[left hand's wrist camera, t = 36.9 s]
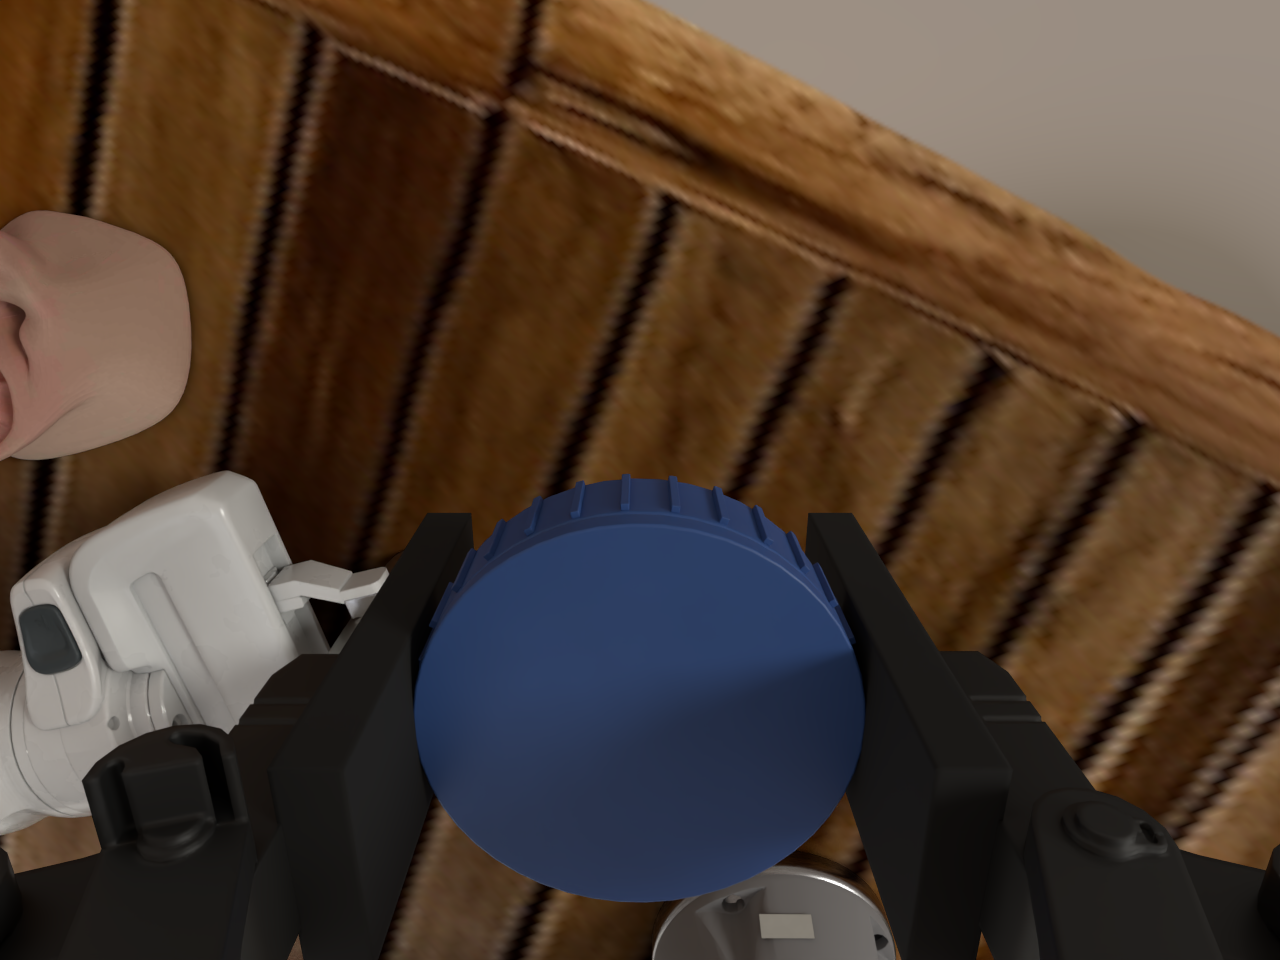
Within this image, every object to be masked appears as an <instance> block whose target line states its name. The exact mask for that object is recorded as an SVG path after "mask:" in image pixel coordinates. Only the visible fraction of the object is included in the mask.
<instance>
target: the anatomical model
mask: <svg viewBox="0 0 1280 960" xmlns="http://www.w3.org/2000/svg"><path fill="white" fill-rule="evenodd" d="M190 361H191V322H190V311H189V302H188V297H187V291H186V286H185V282H184V278H183V275H182V273H181V271H180V268H179V266H178V264H177V263H176V261H175V259H174V258H173V257H172V255H171V254H170V253H169V252H168V251H167V250H166V249H164V248H163V247H162V246H160V245H159V244H157V243H155V242H154V241H152V240H150V239H148V238H145V237H143V236H141V235H139V234H136V233H134V232H131V231H128V230H125V229H122V228H119V227H116V226H113V225H111V224H108V223H105V222H102V221H98V220H95V219H91V218H88V217H83V216H78V215H72V214H66V213H60V212H54V211H32V212H28V213H25V214H23V215H21V216H19V217H17V218H15V219H14V220H12V221H11V222H10V223H8V224H7V225H6V226H5V227H4V228H2V229H1V230H0V461H1V460H4V459H6V458H8V457H10V456H12V457H15V458H19V459H26V460H41V459H50V458H56V457H61V456H66V455H71V454H75V453H79V452H83V451H87V450H90V449H93V448H97V447H100V446H104V445H107V444H110V443H113V442H115V441H118V440H121V439H124V438H127V437H129V436H132V435H134V434H137V433H139V432H141V431H143V430H145V429H147V428H149V427H151V426H153V425H154V424H156V423H158V422H159V421H161V420H162V419H164V418H165V417H166V416H167V415H168V414H169V413H170V412H172V411H173V409H174V408H175V407H176V405H177V404H178V403H179V401H180V399H181V397H182V395H183V393H184V390H185V387H186V383H187V379H188V374H189V369H190Z"/></svg>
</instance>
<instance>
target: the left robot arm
mask: <svg viewBox="0 0 1280 960" xmlns="http://www.w3.org/2000/svg"><path fill="white" fill-rule="evenodd" d="M471 548H473V549H474V544H473V531H472V519H471V513H427V515H426V516H425V518H424V519H423V521H422V523H421V524H420V526H419V527H418V529H417V531H416V532H415V534H414V535H413V537H412V539H411V540H410V542H409V543H408V545H407V547H406V548H405V550H404V551H403V553H402V554H401V556H400V558H399V559H398V561H397V562H396V564H395V566H394V567H393V569H392V570H391V572H390V574H389V575H388V577H387V578H386V580H385V582H384V583H383V585H382V586H381V588H380V590H379V591H378V593H377V594H376V596H375V598H374V599H373V601H372V602H371V604H370V605H369V607H368V609H367V610H366V612H365V613H364V615H363V617H362V618H361V620H360V621H359V623H358V625H357V626H356V628H355V629H354V631H353V633H352V634H351V636H350V637H349V639H348V641H347V642H346V644H345V645H344V647H343V648H342V650H341V652H340V653H339V654H301V655H300V656H298V657H297V658H295V659H294V660H292V661H291V662H290V663H288V664H287V665H285V666H284V667H282V668H281V669H279V670H278V671H277V672H275V673H274V674H272V675H271V677H270V678H269V679H268V681H267V682H266V683H265V685H264V686H263V687H262V689H261V690H260V692H259V693H258V694H257V696H256V697H255V698H254V703H253V704H250V705H249V707H248V708H247V709H246V711H245V712H244V713H243V715H242V716H241V717H240V719H239V724H238V725H235V726H234V727H233V728H232V730H231V731H230V732H229V734H227V733H226V732H225V731H223V730H222V729H221V728H217V727H212V726H208V725H203V724H190V725H174V726H171V727H167V728H163V729H159V730H156V731H152V732H148V733H145V734H143V735H141V736H138V737H136V738H134V739H132V740H130V741H128V742H126V743H123V744H121V745H119V746H117V747H116V748H115V749H113V750H112V751H111V752H109V753H108V754H106V755H105V756H104V757H102V758H101V759H100V760H98V761H97V762H96V763H95V764H94V765H93V766H92V768H91V769H90V770H89V772H88V773H87V774H86V776H85V777H84V778H83V779H82V784H83V787H84V791H85V794H86V797H87V801H88V804H89V808H90V811H91V814H92V818H93V821H94V825H95V828H96V831H97V835H98V838H99V842H100V845H101V848H102V849H101V852H100V853H98V854H95V855H91V856H88V857H85V858H81V859H77V860H73V861H68V862H64V863H60V864H55V865H51V866H47V867H42V868H38V869H34V870H29V871H25V872H21V873H16V874H14V871H13V868H12V865H11V863H10V860H9V857H8V854H7V852H6V851H4V850H3V849H2V848H0V960H287V958H288V956H289V954H290V952H291V950H292V947H293V945H294V943H295V941H296V938H297V936H298V934H299V939H300V944H301V949H302V954H303V959H304V960H378V958H379V955H380V952H381V949H382V946H383V943H384V940H385V937H386V934H387V931H388V928H389V925H390V922H391V919H392V916H393V913H394V910H395V907H396V904H397V901H398V898H399V895H400V892H401V889H402V886H403V883H404V880H405V877H406V874H407V871H408V868H409V865H410V862H411V859H412V856H413V853H414V850H415V847H416V844H417V841H418V838H419V835H420V832H421V829H422V826H423V823H424V820H425V817H426V814H427V811H428V808H429V805H430V802H431V799H432V796H433V793H434V791H433V790H432V788H431V786H430V784H429V782H428V779H427V777H426V774H425V772H424V769H423V767H422V764H421V762H420V758H419V753H418V746H417V739H416V730H415V721H414V711H413V700H414V688H415V683H416V679H417V675H418V671H419V657H420V655H421V653H422V651H423V648H424V646H425V644H426V642H427V640H428V637H429V635H430V633H431V631H432V629H433V628H432V627H429V624H430V622H431V620H432V618H433V616H434V614H435V612H436V610H437V607H438V605H439V603H440V601H441V599H442V597H443V595H444V593H445V590H446V588H447V586H448V584H449V582H451V583H454V582H455V580H456V577H457V575H458V573H459V571H460V569H461V566H462V564H463V562H464V560H465V558H466V556H467V553H468V552H469V551H470V549H471ZM805 555H806V557H807V558H808V559H809V561H810V562H811V564H812V565H814V564H815V563H817V562H818V563H819V565H820V566H821V568H822V570H823V573H824V575H825V577H826V579H827V581H828V583H829V586H830V588H831V590H832V592H833V594H834V596H835V598H836V599H837V601H838V603H839V605H840V607H841V610H842V612H843V614H844V616H845V618H846V620H847V623H848V625H849V627H850V629H851V631H852V633H853V635H854V638H855V641H856V644H852V648H853V650H854V653H855V656H856V659H857V662H858V665H859V668H860V671H861V674H862V680H863V686H864V693H865V699H866V710H865V725H864V734H863V742H862V750H861V753H860V756H859V759H858V763H857V766H856V769H855V772H854V775H853V777H852V779H851V781H850V783H849V785H848V787H847V789H846V794H847V797H848V800H849V803H850V806H851V809H852V812H853V815H854V818H855V821H856V824H857V827H858V830H859V833H860V836H861V839H862V842H863V845H864V848H865V851H866V854H867V857H868V860H869V863H870V866H871V869H872V872H873V875H874V878H875V881H876V884H877V887H878V890H879V893H880V896H881V899H882V903H883V906H884V909H885V912H886V915H887V918H888V921H889V924H890V927H891V930H892V933H893V936H894V939H895V942H896V945H897V948H898V951H899V954H900V957H901V960H976V957H977V951H978V946H979V941H980V936H981V931H982V933H983V935H984V938H985V940H986V942H987V944H988V947H989V949H990V951H991V953H992V955H993V958H994V960H1280V844H1279V845H1278V846H1277V847H1275V848H1274V849H1273V852H1272V855H1271V858H1270V860H1269V863H1268V866H1267V869H1266V870H1261V869H1257V868H1253V867H1248V866H1244V865H1240V864H1235V863H1231V862H1227V861H1222V860H1218V859H1214V858H1209V857H1205V856H1201V855H1197V854H1193V853H1190V852H1187V851H1183V850H1180V849H1179V848H1178V846H1177V845H1176V843H1175V842H1174V840H1173V839H1172V837H1171V836H1170V834H1169V833H1168V831H1167V830H1166V828H1164V827H1163V826H1162V825H1161V824H1160V823H1158V822H1157V821H1156V820H1155V819H1154V818H1152V817H1151V816H1150V815H1149V814H1147V813H1146V812H1145V811H1144V810H1142V809H1140V808H1138V807H1136V806H1134V805H1132V804H1130V803H1128V802H1127V801H1125V800H1123V799H1121V798H1119V797H1116V796H1113V795H1110V794H1106V793H1103V792H1099V791H1096V790H1095V789H1094V787H1093V786H1092V785H1091V783H1090V782H1089V781H1088V779H1087V778H1086V777H1085V775H1084V774H1083V773H1082V771H1081V770H1080V769H1079V767H1078V766H1077V764H1076V763H1075V762H1074V760H1073V759H1072V758H1071V756H1070V755H1069V754H1068V752H1067V751H1066V750H1065V748H1064V747H1063V746H1062V744H1061V743H1060V742H1059V740H1058V739H1057V737H1056V736H1055V735H1054V733H1053V732H1052V731H1051V729H1050V728H1049V727H1048V725H1047V724H1046V723H1045V722H1042V721H1041V716H1040V715H1039V713H1038V712H1037V710H1036V709H1035V708H1034V706H1033V705H1032V704H1031V702H1030V701H1026V696H1025V694H1024V693H1023V692H1022V690H1021V689H1020V688H1019V686H1018V685H1017V683H1016V682H1015V681H1014V679H1013V678H1012V677H1011V675H1010V674H1009V673H1008V672H1007V671H1006V670H1004V669H1003V668H1001V667H1000V666H998V665H997V664H996V663H994V662H993V661H991V660H990V659H988V658H987V657H985V656H984V655H983V654H981V653H980V652H978V651H938V649H937V648H936V646H935V645H934V643H933V641H932V640H931V638H930V637H929V635H928V633H927V632H926V630H925V629H924V627H923V625H922V624H921V622H920V621H919V619H918V617H917V616H916V614H915V613H914V611H913V609H912V608H911V606H910V605H909V603H908V602H907V600H906V598H905V597H904V595H903V594H902V592H901V590H900V589H899V587H898V586H897V584H896V582H895V581H894V579H893V578H892V576H891V574H890V573H889V571H888V570H887V568H886V566H885V565H884V563H883V562H882V560H881V558H880V557H879V555H878V554H877V552H876V551H875V549H874V547H873V546H872V544H871V543H870V541H869V539H868V538H867V536H866V535H865V533H864V531H863V530H862V528H861V527H860V525H859V523H858V522H857V520H856V519H855V517H854V515H853V514H852V513H808V525H807V538H806V551H805ZM885 912H884V910H883V907H882V905H881V903H880V901H879V899H878V897H877V896H876V894H875V893H874V892H873V890H872V889H871V888H870V887H869V886H868V885H867V884H866V883H865V882H864V881H863V880H862V879H861V878H860V877H859V876H857V875H856V874H855V873H853V872H852V871H850V870H849V869H847V868H846V867H844V866H842V865H840V864H838V863H836V862H834V861H831V860H829V859H826V858H823V857H820V856H817V855H813V854H809V853H804V852H797V851H794V852H793V853H791V854H790V855H788V856H787V857H785V858H784V859H782V860H781V861H779V862H778V863H777V864H775V865H774V866H772V867H770V868H768V869H767V870H765V871H763V872H761V873H759V874H757V875H755V876H753V877H751V878H750V879H747V880H745V881H742V882H740V883H737V884H735V885H732V886H730V887H727V888H725V889H721V890H718V891H714V892H710V893H707V894H703V895H700V896H695V897H689V898H683V899H678V900H670V901H665V903H664V904H663V906H662V907H661V909H660V911H659V913H658V916H657V918H656V920H655V924H654V928H653V933H652V960H896V950H895V943H894V940H893V936H892V933H891V930H890V927H889V924H888V921H887V918H886V915H885Z"/></svg>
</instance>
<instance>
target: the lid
mask: <svg viewBox="0 0 1280 960" xmlns="http://www.w3.org/2000/svg"><path fill="white" fill-rule="evenodd" d="M429 627H432V628H433V629H432V631H431V633H430V635H429V637H428V640H427V642H426V644H425V646H424V648H423V651H422V653H421V655H420V657H419V671H418V675H417V679H416V683H415V688H414V700H413V711H414V721H415V730H416V739H417V746H418V753H419V758H420V762H421V764H422V767H423V769H424V772H425V774H426V777H427V779H428V782H429V784H430V786H431V788H432V790H433V791H434V793H435V795H436V797H437V798H438V800H439V802H440V803H441V805H442V807H443V808H444V809H445V811H446V812H447V813H448V814H449V816H450V817H451V818H452V820H453V821H454V822H455V823H456V825H457V826H458V827H459V828H460V829H461V830H462V831H463V832H464V833H465V834H466V835H467V836H468V837H469V838H470V839H471V840H472V841H473V842H474V843H475V844H476V845H478V846H479V847H480V848H482V849H483V850H484V851H485V852H487V853H488V854H489V855H491V856H492V857H493V858H494V859H496V860H497V861H499V862H501V863H502V864H504V865H506V866H507V867H509V868H511V869H512V870H514V871H516V872H517V873H519V874H521V875H524V876H526V877H528V878H530V879H532V880H534V881H537V882H539V883H541V884H544V885H546V886H549V887H552V888H555V889H558V890H561V891H564V892H567V893H572V894H576V895H580V896H585V897H589V898H594V899H602V900H610V901H618V902H657V901H670V900H678V899H683V898H689V897H695V896H700V895H703V894H707V893H710V892H714V891H718V890H721V889H725V888H727V887H730V886H732V885H735V884H737V883H740V882H742V881H745V880H747V879H750V878H751V877H753V876H755V875H757V874H759V873H761V872H763V871H765V870H767V869H768V868H770V867H772V866H774V865H775V864H777V863H778V862H779V861H781V860H782V859H784V858H785V857H787V856H788V855H790V854H791V853H793V852H794V851H795V850H796V849H797V848H799V847H800V846H801V845H802V844H803V843H804V842H805V841H806V840H808V839H809V838H810V837H811V836H812V835H813V834H814V833H815V832H816V831H817V830H818V829H819V827H820V826H821V825H822V824H823V823H824V822H825V821H826V819H827V818H828V817H829V816H830V815H831V813H832V812H833V810H834V809H835V807H836V806H837V804H838V803H839V801H840V800H841V798H842V797H843V795H844V793H845V791H846V789H847V787H848V785H849V783H850V781H851V779H852V777H853V775H854V772H855V769H856V766H857V763H858V759H859V756H860V753H861V750H862V742H863V734H864V725H865V710H866V699H865V693H864V686H863V680H862V674H861V671H860V668H859V665H858V662H857V659H856V656H855V653H854V650H853V648H852V644H856V641H855V638H854V635H853V633H852V631H851V629H850V627H849V625H848V623H847V620H846V618H845V616H844V614H843V612H842V610H841V607H840V605H839V603H838V601H837V599H836V598H835V596H834V594H833V592H832V590H831V588H830V586H829V583H828V581H827V579H826V577H825V575H824V573H823V570H822V568H821V566H820V565H819V563H818V562H817V563H815V564H814V565H812V564H811V562H810V561H809V559H808V558H807V557H806V555H805V554H804V552H803V551H802V550H801V547H800V545H799V543H798V540H797V538H796V536H795V534H794V533H793V532H792V531H790V532H788V533H787V534H786V533H785V532H784V531H782V530H781V529H780V528H778V527H777V526H776V525H775V524H773V523H772V522H771V521H770V520H768V519H767V518H766V517H765V516H764V513H763V511H762V508H760V507H759V506H757V505H755V506H754V508H753V509H751V508H750V507H748V506H746V505H744V504H743V503H741V502H739V501H736V500H734V499H732V498H729V497H727V496H725V495H723V493H722V489H721V488H719V487H716V486H714V488H713V490H708V489H705V488H701V487H698V486H694V485H691V484H686V483H680V482H677V477H675V476H669V479H668V481H667V480H659V479H630V474H623V475H622V480H613V481H603V482H598V483H594V484H589V485H585V483H584V481H579V482H576V486H575V488H573V489H570V490H567V491H565V492H562V493H559V494H556V495H553V496H551V497H548V498H546V499H544V500H543V499H542V498H541V496H538V497H536V498H534V500H533V503H532V506H531V507H529V508H527V509H525V510H524V511H522V512H521V513H519V514H518V515H516V516H515V517H513V518H512V519H511V520H509V521H508V522H505V521H504V520H503V519H501V520H500V521H499V522H498V523H497V524H496V527H495V529H494V532H493V534H492V535H491V536H490V537H489V538H488V539H487V540H486V541H485V542H484V543H483V544H482V545H481V547H480V548H479V549H478V550H477V551H476V550H474V549H473V548H471V549H470V551H469V552H468V553H467V556H466V558H465V560H464V562H463V564H462V566H461V569H460V571H459V573H458V575H457V577H456V580H455V582H454V583H451V582H449V584H448V586H447V588H446V590H445V593H444V595H443V597H442V599H441V601H440V603H439V605H438V607H437V610H436V612H435V614H434V616H433V618H432V620H431V622H430V624H429Z"/></svg>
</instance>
